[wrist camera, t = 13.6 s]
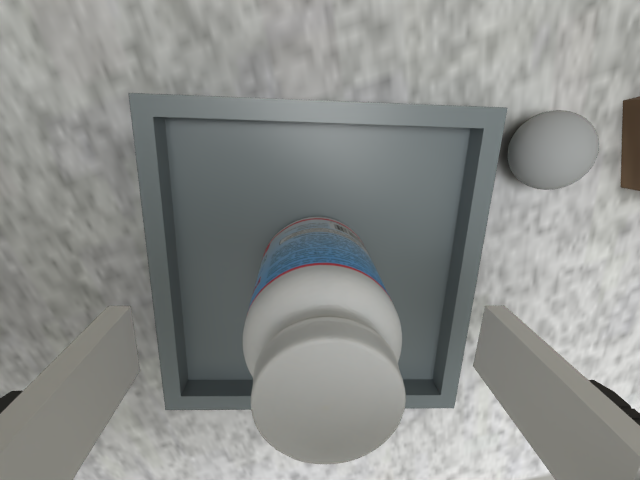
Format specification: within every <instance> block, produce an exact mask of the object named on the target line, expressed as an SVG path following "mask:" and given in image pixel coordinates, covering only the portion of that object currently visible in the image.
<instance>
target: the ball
mask: <svg viewBox="0 0 640 480" xmlns="http://www.w3.org/2000/svg"><path fill="white" fill-rule="evenodd" d="M598 151H599V139H598V135H597V132H596V130H595V128H594V127H593V125H592V124H591V123H590V122H589V121H588V120H587V119H586V118H584V117H582V116H581V115H579V114H576V113H573V112H570V111H562V110H556V111H549V112H544V113H541V114H539V115H536V116H534V117H532V118H531V119H529V120H528V121H526V122H525V123H524V124H522V125H521V126H520V127H519V129H518V130H517V131H516V132H515V134H514V135H513V137H512V139H511V141H510V144H509V147H508V162H509V166H510V168H511V171H512V172H513V174H514V175H515V176H516V177H517V178H518V179H519V180H520V181H521V182H523V183H524V184H526V185H528V186H530V187H533V188H537V189H544V190H549V189H558V188H562V187H566V186H568V185H570V184H572V183H574V182H576V181H578V180H579V179H581V178H582V177H583V176H584V175H585V174H586V173H587V172H588V171H589V170H590V169H591V167H592V166H593V164H594V163H595V160H596V158H597V155H598Z"/></svg>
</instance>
